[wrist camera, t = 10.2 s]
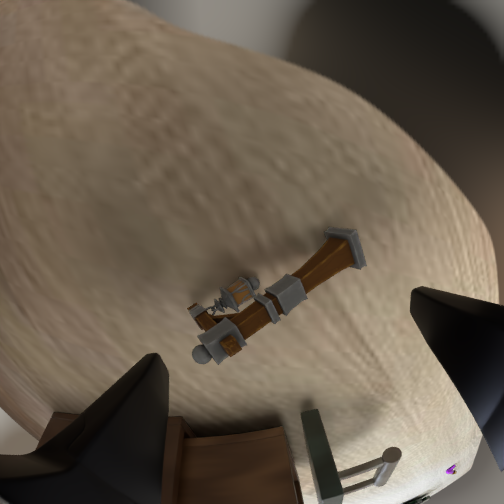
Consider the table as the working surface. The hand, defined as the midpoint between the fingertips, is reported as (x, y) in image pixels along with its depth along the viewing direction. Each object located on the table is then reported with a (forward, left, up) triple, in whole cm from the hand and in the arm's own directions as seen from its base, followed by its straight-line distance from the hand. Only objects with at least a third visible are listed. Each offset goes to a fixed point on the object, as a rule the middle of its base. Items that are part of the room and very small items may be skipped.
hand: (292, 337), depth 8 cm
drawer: (-3, -16, -4) cm, 17 cm away
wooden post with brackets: (0, 0, -5) cm, 5 cm away
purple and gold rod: (+37, -69, -5) cm, 79 cm away
